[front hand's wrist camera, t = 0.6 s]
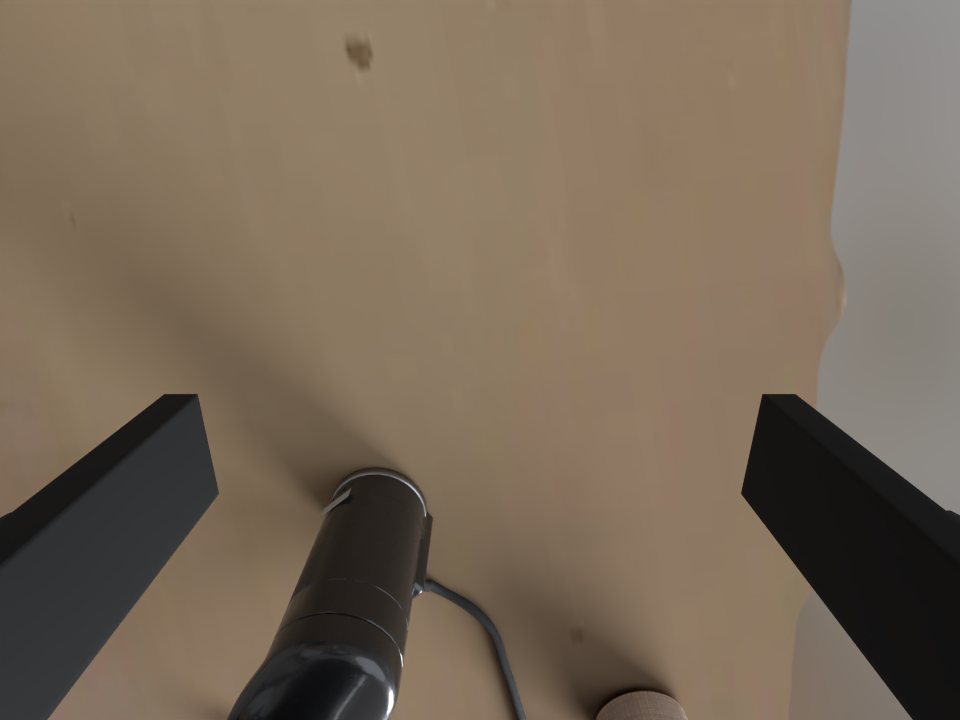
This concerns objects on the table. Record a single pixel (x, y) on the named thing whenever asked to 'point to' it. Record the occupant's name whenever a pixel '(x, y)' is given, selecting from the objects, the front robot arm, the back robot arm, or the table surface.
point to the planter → (642, 707)
